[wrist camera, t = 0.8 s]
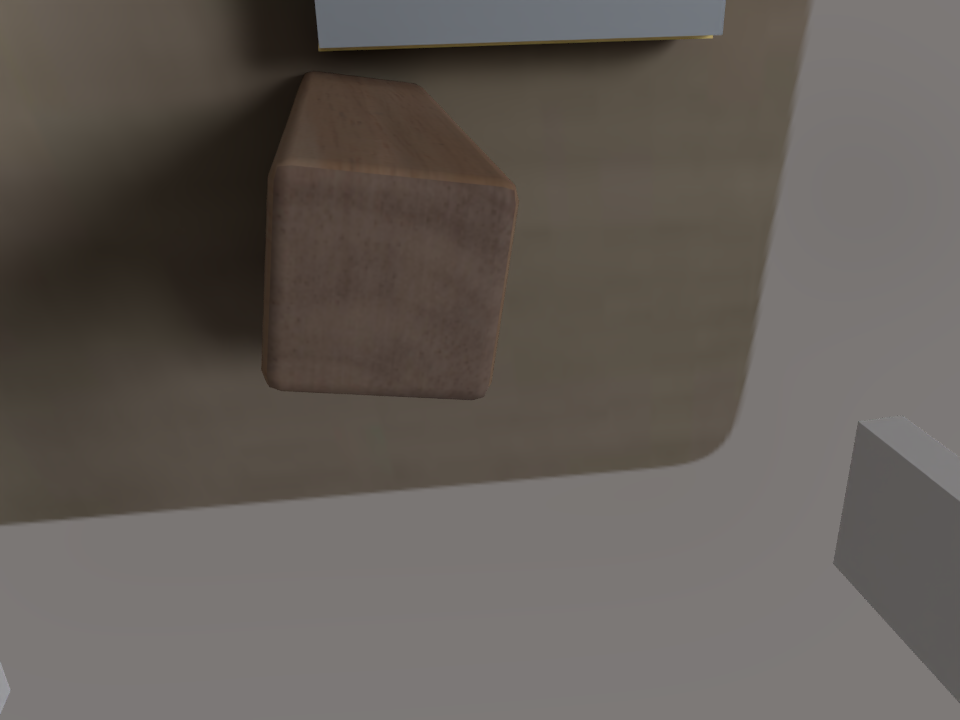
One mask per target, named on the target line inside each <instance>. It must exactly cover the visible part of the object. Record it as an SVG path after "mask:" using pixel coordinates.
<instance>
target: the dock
mask: <svg viewBox="0 0 960 720" xmlns="http://www.w3.org/2000/svg"><path fill="white" fill-rule="evenodd" d="M725 2H726V0H315V8H316V19H317V29H318V40H319V43H318V50H319V51H344V50H373V49H403V48H433V47H463V46H492V45H522V44H552V43H582V42H611V41H641V40H671V39H701V38H713V35H722V34H723V23H724V13H725Z"/></svg>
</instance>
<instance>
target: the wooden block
mask: <svg viewBox="0 0 960 720" xmlns="http://www.w3.org/2000/svg"><path fill="white" fill-rule="evenodd" d="M518 204H519V199H518V195H517V191H516V187H515V185H514V183H513V182H512V181H511V180H510V179H509V178H508V177H507V176H506V175H505V174H504V173H503V172H502V171H501V170H500V169H499V168H498V167H497V166H496V165H495V164H494V163H493V161H492V160H491V159H490V158H489V157H488V156H487V155H486V154H485V153H484V152H483V151H482V150H481V149H480V148H479V147H478V146H477V145H476V144H475V143H474V142H473V140H472V139H471V138H470V137H469V136H468V135H467V134H466V133H465V132H464V131H463V130H462V129H461V128H460V127H459V126H458V125H457V124H456V123H455V122H454V121H453V119H452V118H451V117H450V116H449V115H448V114H447V113H446V112H445V111H444V110H443V109H442V108H441V107H440V106H439V105H438V104H437V103H436V101H435V100H434V99H433V98H432V97H431V96H430V95H429V94H428V93H427V92H426V91H425V90H424V89H423V88H422V87H420V86H418V85H417V84H414V83H406V82H398V81H390V80H382V79H374V78H366V77H358V76H350V75H342V74H334V73H326V72H318V71H312V72H308V73H305V75H304V77H303V79H302V81H301V84H300V86H299V89H298V91H297V94H296V97H295V100H294V103H293V106H292V109H291V112H290V115H289V118H288V121H287V123H286V126H285V129H284V132H283V135H282V138H281V140H280V143H279V146H278V149H277V152H276V155H275V157H274V160H273V163H272V166H271V169H270V171H269V174H268V184H267V215H266V245H265V276H264V306H263V336H262V367H261V370H262V373H263V375H264V377H265V380H266V382H267V384H268V385H269V387H272V388H275V389H277V390H280V391H293V392H314V393H334V394H355V395H376V396H397V397H418V398H438V399H459V400H475V399H478V398H482V397H484V395H485V393H486V391H487V389H488V387H489V386H490V384H491V382H492V376H493V369H494V362H495V356H496V349H497V343H498V336H499V329H500V323H501V316H502V310H503V303H504V297H505V290H506V283H507V277H508V270H509V264H510V257H511V250H512V244H513V237H514V231H515V224H516V217H517V211H518Z"/></svg>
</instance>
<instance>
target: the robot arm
mask: <svg viewBox="0 0 960 720" xmlns="http://www.w3.org/2000/svg"><path fill="white" fill-rule="evenodd" d="M833 564H834V565H835V566H836V567H837V568H838V569H839V571H840V572H841V573H842V574H843V575H844V576H845V577H846V578H847V579H848V580H849V582H850V583H851V584H852V585H853V586H854V587H855V588H856V589H857V590H858V591H859V593H860V594H861V595H862V596H863V597H864V598H865V599H866V600H867V601H868V602H869V604H870V605H871V606H872V607H873V608H874V609H875V610H876V611H877V612H878V614H879V615H880V616H881V617H882V618H883V619H884V620H885V621H886V622H887V623H888V625H889V626H890V627H891V628H892V629H893V630H894V631H895V632H896V633H897V634H898V636H899V637H900V638H901V639H902V640H903V641H904V642H905V643H906V644H907V646H908V647H909V648H910V649H911V650H912V651H913V652H914V653H915V654H916V655H917V657H918V658H919V659H920V660H921V661H922V662H923V663H924V664H925V665H926V666H927V668H928V669H929V670H930V671H931V672H932V673H933V674H934V675H935V676H936V677H937V678H938V680H939V681H940V682H941V683H942V684H943V685H944V686H945V687H946V689H947V690H948V691H949V692H950V693H951V694H952V695H953V696H954V697H955V698H956V699H957V701H958V702H959V703H960V457H959V456H958V455H957V454H955V453H954V452H952V451H951V450H949V449H948V448H947V447H945V446H944V445H942V444H941V443H940V442H938V441H937V440H936V439H934V438H933V437H932V436H930V435H929V434H927V433H926V432H925V431H923V430H922V429H920V428H919V427H918V426H916V425H915V424H913V423H912V422H911V421H909V420H908V419H907V418H905V417H904V416H896V417H888V418H880V419H872V420H864V421H858V426H857V431H856V437H855V443H854V449H853V454H852V460H851V465H850V471H849V477H848V482H847V488H846V494H845V499H844V505H843V511H842V516H841V522H840V528H839V534H838V540H837V545H836V551H835V556H834V562H833ZM10 691H11V690H10V687H9V685H8V682H7V679H6V676H5V674H4V671H3V668H2V665H1V662H0V713H1V711H2V709H3V707H4V704H5V702H6V700H7V697H8V695H9V693H10Z"/></svg>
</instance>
